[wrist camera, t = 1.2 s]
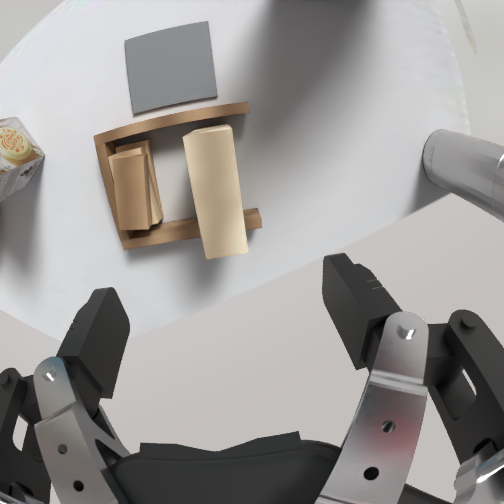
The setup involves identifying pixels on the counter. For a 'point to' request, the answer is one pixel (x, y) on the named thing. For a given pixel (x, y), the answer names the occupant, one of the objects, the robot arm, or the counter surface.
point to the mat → (170, 67)
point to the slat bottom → (150, 161)
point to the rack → (170, 229)
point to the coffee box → (16, 157)
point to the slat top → (132, 191)
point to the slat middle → (154, 203)
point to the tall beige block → (216, 190)
